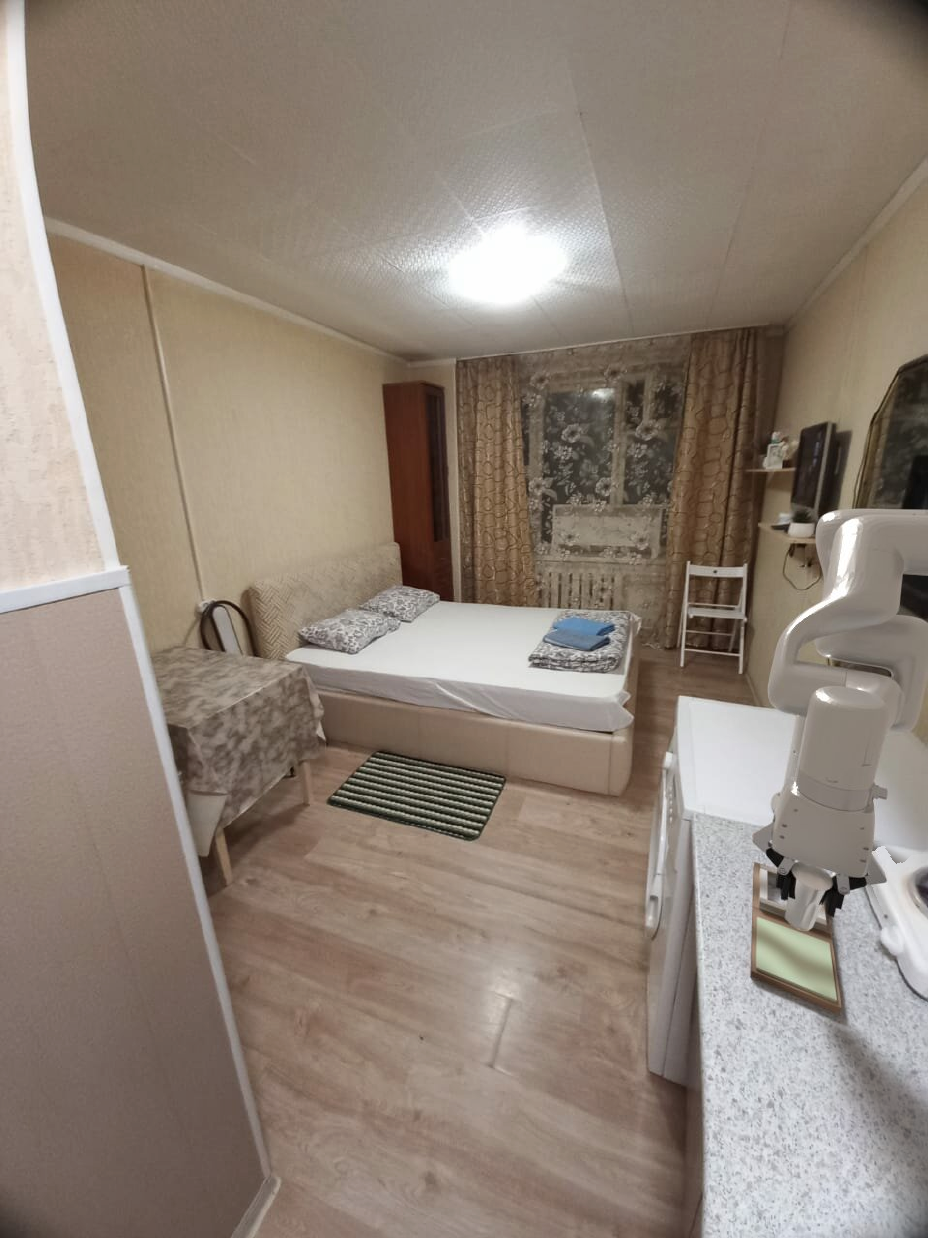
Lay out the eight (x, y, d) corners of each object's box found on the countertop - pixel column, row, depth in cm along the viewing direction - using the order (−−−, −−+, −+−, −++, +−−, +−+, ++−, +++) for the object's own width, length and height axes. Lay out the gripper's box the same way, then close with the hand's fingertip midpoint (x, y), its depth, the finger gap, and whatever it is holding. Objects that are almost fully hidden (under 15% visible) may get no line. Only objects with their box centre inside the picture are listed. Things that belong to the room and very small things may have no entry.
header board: (753, 867, 85) (755, 856, 84) (823, 890, 80) (826, 878, 80) (750, 977, 67) (752, 963, 67) (839, 1015, 62) (843, 1001, 62)
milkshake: (831, 940, 64) (851, 881, 61) (786, 932, 65) (803, 874, 62) (815, 910, 68) (832, 853, 65) (773, 903, 69) (788, 847, 66)
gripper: (913, 788, 59) (880, 905, 64) (753, 752, 67) (735, 859, 73) (930, 826, 53) (892, 952, 58) (752, 781, 61) (733, 895, 66)
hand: (805, 899), depth 65 cm, fingers closed on milkshake, 4 cm apart
